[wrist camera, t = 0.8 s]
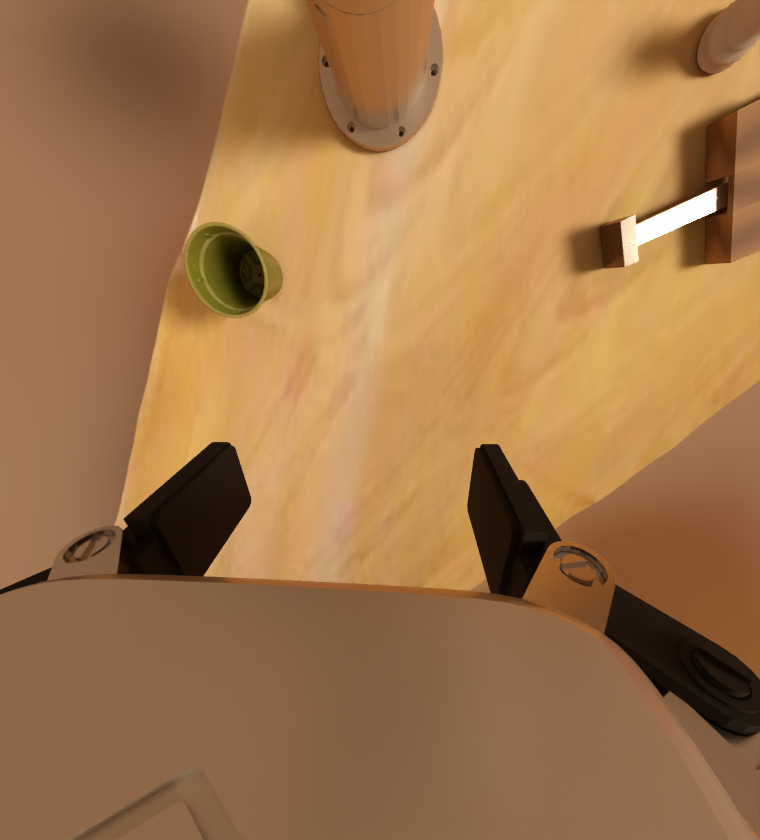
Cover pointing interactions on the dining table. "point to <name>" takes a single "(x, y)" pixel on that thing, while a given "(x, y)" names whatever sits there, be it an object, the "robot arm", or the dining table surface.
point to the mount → (735, 185)
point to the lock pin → (655, 226)
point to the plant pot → (229, 270)
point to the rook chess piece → (729, 36)
